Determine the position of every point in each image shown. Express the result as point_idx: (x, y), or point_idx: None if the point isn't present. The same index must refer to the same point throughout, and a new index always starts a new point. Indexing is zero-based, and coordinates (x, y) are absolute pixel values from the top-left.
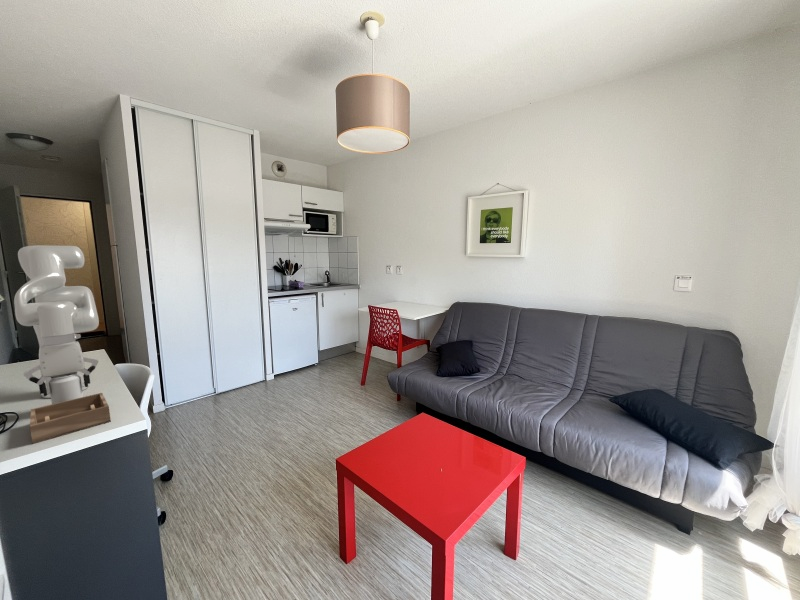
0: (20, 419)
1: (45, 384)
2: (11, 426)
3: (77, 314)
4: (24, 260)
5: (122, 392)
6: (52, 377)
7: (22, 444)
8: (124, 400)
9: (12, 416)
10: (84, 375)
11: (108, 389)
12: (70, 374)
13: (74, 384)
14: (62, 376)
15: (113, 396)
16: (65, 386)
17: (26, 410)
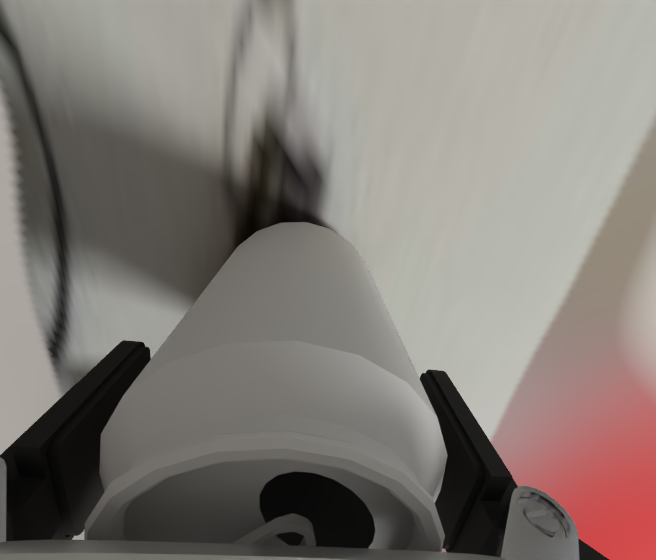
0: (77, 245)
1: (80, 484)
2: (58, 326)
3: None
4: None
5: (573, 262)
6: None
7: None
8: (492, 404)
9: (8, 116)
10: (461, 544)
11: (597, 67)
12: (377, 408)
13: (337, 496)
14: (249, 539)
15: (508, 293)
16: (268, 510)
17: (72, 40)
